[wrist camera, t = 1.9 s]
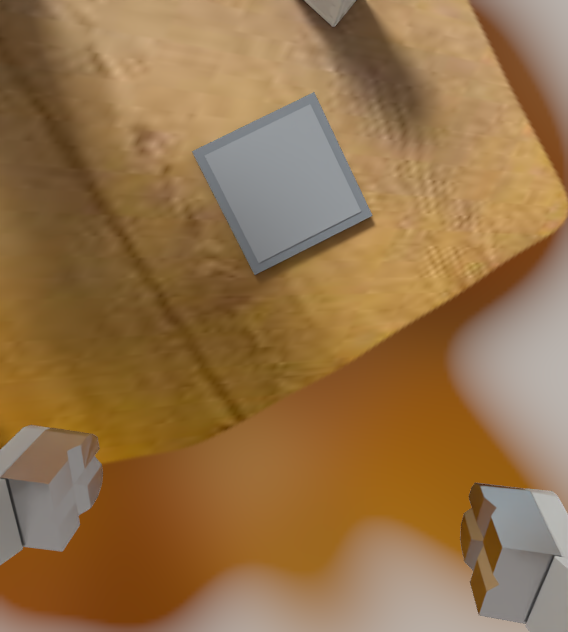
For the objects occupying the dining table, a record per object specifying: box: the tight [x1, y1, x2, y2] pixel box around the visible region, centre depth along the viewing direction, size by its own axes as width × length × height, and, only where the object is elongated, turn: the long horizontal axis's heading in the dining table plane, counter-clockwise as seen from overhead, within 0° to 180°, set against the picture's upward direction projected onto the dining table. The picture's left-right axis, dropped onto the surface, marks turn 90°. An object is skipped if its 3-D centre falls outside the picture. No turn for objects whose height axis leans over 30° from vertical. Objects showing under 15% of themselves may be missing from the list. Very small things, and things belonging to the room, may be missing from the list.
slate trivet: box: [192, 92, 372, 275], centre depth 41 cm, size 12×12×1 cm
